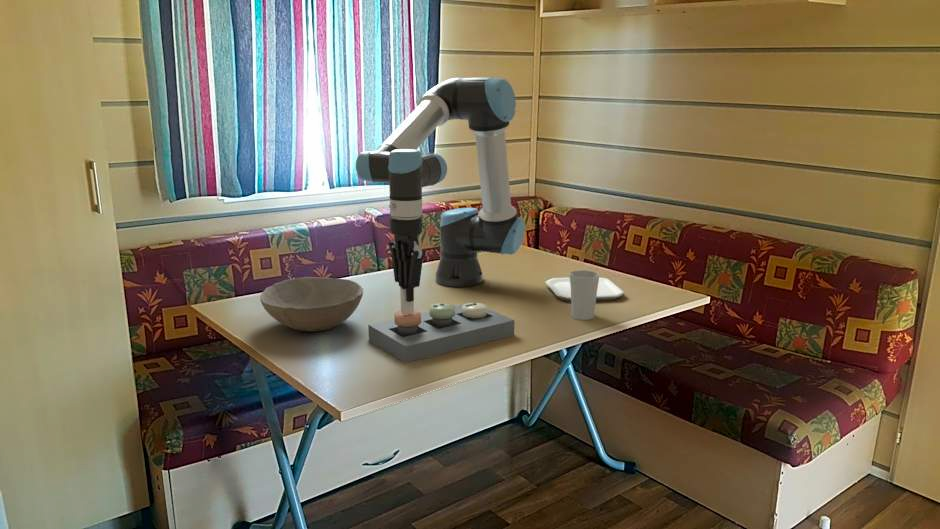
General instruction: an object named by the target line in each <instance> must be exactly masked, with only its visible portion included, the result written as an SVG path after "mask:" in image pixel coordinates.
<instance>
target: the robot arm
mask: <svg viewBox="0 0 940 529" xmlns="http://www.w3.org/2000/svg"><path fill="white" fill-rule="evenodd" d="M515 96H516V95H515V91H514V88H513V87H512V85H511V83H510V82H509V81H508V79H505V78H503V77H502V78H500V77H499V78H497V77H492V76H489V77H487V76H485V77H453V78H449V79H446V80H445V81H442V82H441V83H437V85H435V86H433V87H432V88H430V89H429V90H428V91H427V92H425V94H423V96H421V97H420V98H419V100H418V103H417V107H416V108H415V109H414V110H413V111H412V112H411V113H410V114H409V115H408V116H407V118H405V119H404V120H403V121H402V122H401V123H400V124H399V125H398V127H397V128H396V129H394V131H393V132H392V133H391V134H390V135H389V136H388V137H387V138H386V139H385V140H384V141H383V142H382V143H381V144H380V145H379V146H378V147H377V148H376V150H374V151H372V150H367V151H365V150H364V151H362V152H360V153H359V154H358V155H357V157H356V162H355V171H356V174H357V176H358V178H359V179H360V180H361V181H364V182H371V183H374V184H375V183H382V184H383V183H384V184H388V186H389V205H388V207H389V216H391V217H390V218H389V232H390V234H392V235H394V237H393V241H389V242H388V248H389V250H390V254H391V261H392V262H391V263H392V270H393V277H394V282H395V283H398V286H399V287H400V288H399V290H400V291H399V292H400V311H401V314H403V315H406V314H411V313H414V311H415V309H414V308H415V307H414V306H415V305H414V301H415V288H418V287H420V286H421V284H420V283H421V277H422V276H421V275H422V269H423V268H422V267H423V263H424V262H423V261H424V259H425V258H424V257H425V255H426V251H425V249H421V248H420V247H419V245H420V243H419V238H418V237H419V235H420V234H422V233H423V218H422V217H421V216H422V215H423V196H422V195H423V191H422V190H423V188H426V187H430V186H434V185H437V184H438V183H441V182H443V180H444V179H445V178H446V176H447V173H448V166H447V161H446V160H445V158H444V157H443V156H441V155H440V154H438V153H429V152H428V153H425V154H424V153H423V154H422V153H421V150H419V148H420V146H421V145H422V144H423V143H424V142H425V141H426V140H427V139H428V138H429V136H430V135H432V133H433V132H434V131H435V130H436V129H437V127H441V126H444V125H445V124H446V123H447V122H448V121H450V120H451V121H452V120H463V121H464V120H465V121H468V123H467V124H468V129H469V130H470V131H471V132H472V133H474V136H475V146H476V155H477V165H478V166H477V167H478V174H479V175H478V176H479V183H480V193H481V194H480V195H481V201H482V202H481V203H482V207H481V209H480V210H479V211H478V208H477V207H461V208H460V207H459V208H454V209H449V210H446V211H444V212H443V213H441V216H440V225H439V227H440V258H439V262H438V265H437V268H436V271H435V279H434V280H435V282H436V283H437V284H439V285H441V286H445V287H455V288H462V287H463V288H464V287H465V288H466V287H473V286H477V285H480V284H481V283H483V280H484V279H483V278H484V276H483V271H482V268H481V265H480V262H479V259H478V252H480V253H489V254H490V253H491V254H497V255H501V256H502V255H510V256H511V255H516V253H517V252H518V251H519V250H520V248H521V246H522V244H523V240H524V236H525V231H526V222H525V219H524V218H523V217H521V216H518V211H517V208H516V207H515V206H513V205H512V203H511V202H512V200H511V189H510V188H511V187H510V177H509V176H510V175H509V164H508V162H509V161H508V154H507V151H508V150H507V142H506V141H507V140H506V130H507V129H508V127H509V126H510V121H512V120H513V119H514V117H515V114H516V106H517V105H516V104H517V103H516V102H517V101H516V97H515Z"/></svg>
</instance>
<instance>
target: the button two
mask: <svg viewBox="0 0 940 529" xmlns="http://www.w3.org/2000/svg"><path fill="white" fill-rule="evenodd" d="M455 306H456V305H454V304H451V303H446V302H442V303H441V302H440V303H439V302H438V303H433V304H431V305H430V306H429V308H428V309H429V310H428V312H429V315H430V317H432V326H433V327H435V328H438V329H440V328H445V327H449V326H452V317H454V316H455Z"/></svg>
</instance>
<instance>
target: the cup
mask: <svg viewBox="0 0 940 529" xmlns="http://www.w3.org/2000/svg"><path fill="white" fill-rule="evenodd" d="M599 277H600V273H598V272H597V271H594V270H588V269H587V270H586V269H578V270H572V271H570V272H569V278H570V285H571V301H570V303H571V304H570V305H571V309H570V310H571V312H570V317H571V318H573V319H575V320H583V321H585V320H587V321H588V320H592V319H594V318H595V310H596V304H597V301H596V296H597V288H598V282H599Z"/></svg>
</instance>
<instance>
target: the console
mask: <svg viewBox="0 0 940 529" xmlns="http://www.w3.org/2000/svg"><path fill="white" fill-rule="evenodd" d="M468 303H469V302H468ZM468 303H466V304H468ZM471 303H474V302H472V301H471ZM464 304H465V303H463V304H458V305H454V306H455V316H454V317H452V326H449V327H445V328H440V329H438V328H435V327H433V326H432V317H430V315H429V311H425V312H420V313H421V323H420V324H419V325H418V334H415V335H410V336H406V337H403V336H400V335H398V326H397V325H396V324H395V322H394V318H393V319H388V320H385V321H379V322H375V323H369V324H368V330H367V331H368V341H370V342H372V343H373V344H374V345H376V346H378V347H380V348H382V349H383V350H384V351H386V352H388V353H390V354H391V355H392V356H394V357H396V358H398V359H399V360H401V361H403V362H404V363H410V362H415V361H418V360H422V359H425V358H430V357H433V356H438V355H441V354H445V353H449V352H453V351H457V350H460V349H461V350H462V349H465V348H470V347H472V346H477V345H481V344H484V343H488V342H492V341H497V340H500V339H503V338H504V339H505V338H508V337H512V336H515V326H516V325H515V324H516V323H515V322H516V321H515V319H513V318H510V317H508V316H506V315H503V314H501V313H499V312H496V311H495V310H492V309H489V308H487V315H486V316H485V317H484V318H483V319H479V320H475V321H470V320H468V319H465V316H463V315H462V306H463V305H464Z"/></svg>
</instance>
